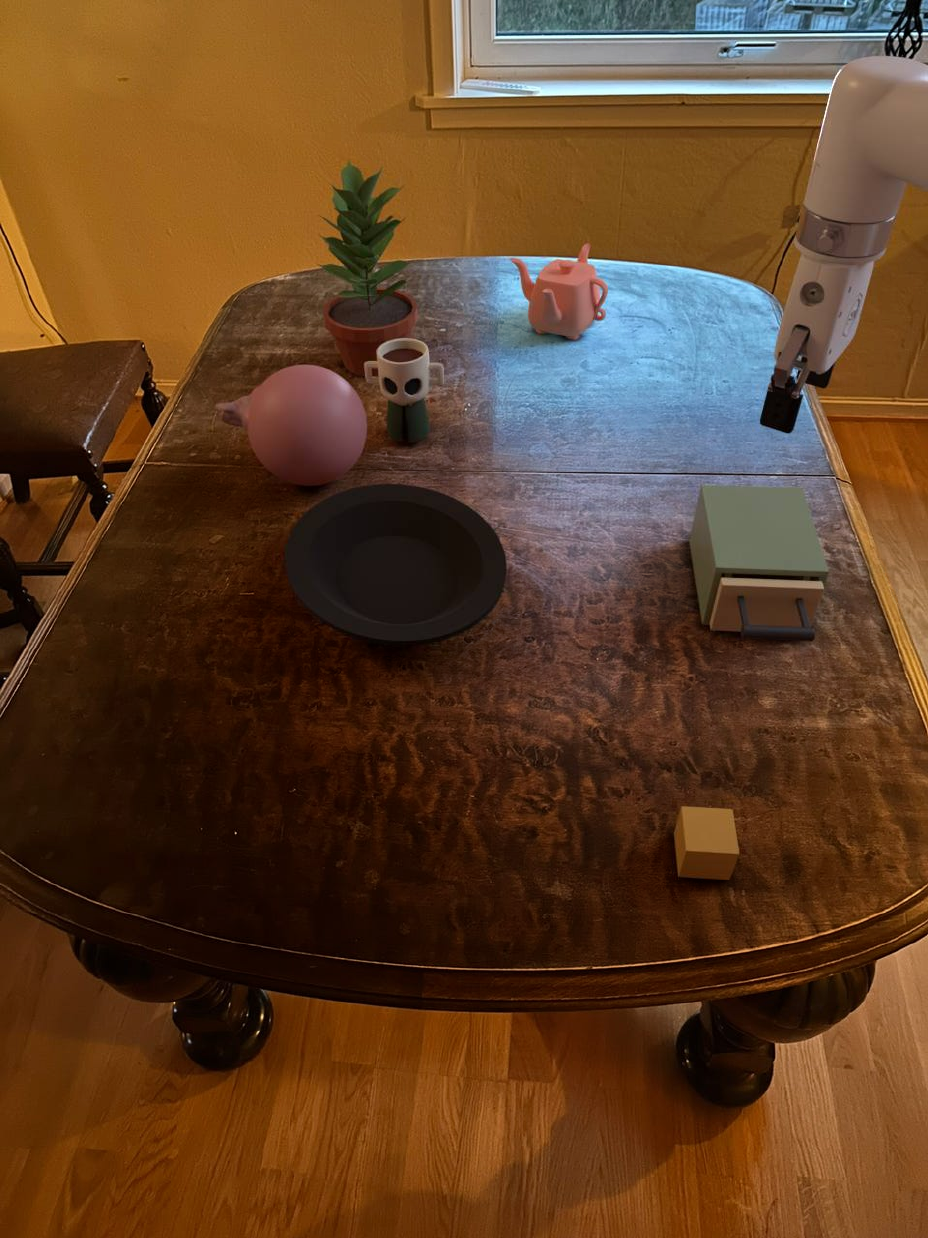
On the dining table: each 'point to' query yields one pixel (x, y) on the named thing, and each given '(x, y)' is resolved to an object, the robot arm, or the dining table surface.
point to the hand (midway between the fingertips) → (794, 405)
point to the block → (706, 843)
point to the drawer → (767, 606)
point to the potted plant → (365, 275)
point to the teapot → (564, 296)
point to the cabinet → (752, 537)
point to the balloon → (302, 424)
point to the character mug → (405, 385)
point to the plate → (395, 564)
